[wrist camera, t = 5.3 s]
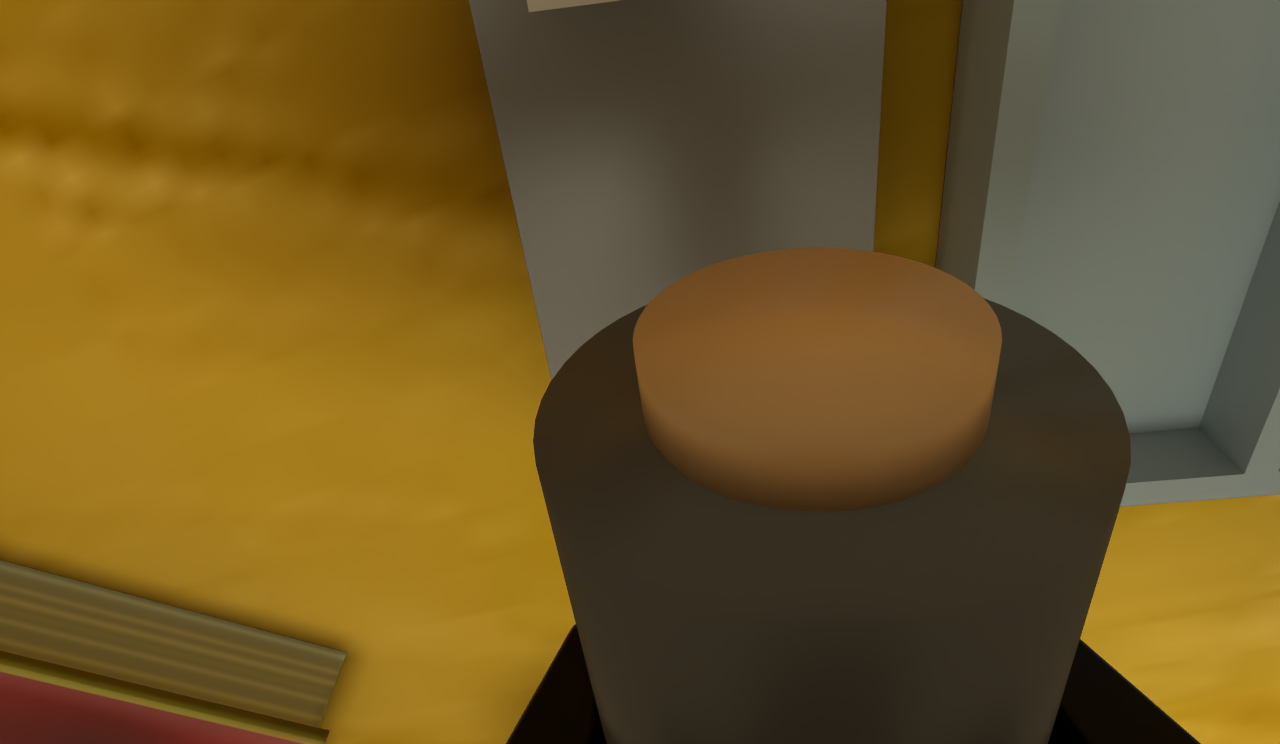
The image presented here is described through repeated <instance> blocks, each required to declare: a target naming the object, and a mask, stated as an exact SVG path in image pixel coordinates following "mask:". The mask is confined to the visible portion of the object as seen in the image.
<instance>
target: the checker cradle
mask: <svg viewBox="0 0 1280 744" xmlns="http://www.w3.org/2000/svg"><path fill="white" fill-rule="evenodd" d="M469 5H470V9H471V14H472V18H473V23H474V27H475V32H476V36H477V41H478V46H479V50H480V55H481V59H482V64H483V68H484V73H485V78H486V82H487V87H488V91H489V96H490V100H491V105H492V110H493V114H494V119H495V123H496V128H497V132H498V137H499V141H500V146H501V151H502V155H503V160H504V164H505V169H506V173H507V178H508V183H509V187H510V192H511V196H512V201H513V205H514V210H515V215H516V219H517V224H518V228H519V233H520V237H521V242H522V246H523V251H524V256H525V260H526V265H527V269H528V274H529V278H530V283H531V288H532V292H533V297H534V301H535V306H536V310H537V315H538V320H539V324H540V329H541V333H542V338H543V342H544V347H545V351H546V356H547V361H548V365H549V370H550V374H551V379H553V378H554V376H555V375H556V374H557V372H558V371H559V370H560V368H561V367H562V366H563V364H564V363H565V362H566V361H567V360H568V359H569V358H570V357H571V356H572V355H573V354H574V353H575V352H576V351H577V350H578V349H579V348H580V347H581V346H582V345H583V344H584V343H585V342H587V341H588V340H589V339H590V338H592V337H593V336H594V335H595V334H597V333H598V332H599V331H601V330H602V329H604V328H605V327H607V326H608V325H610V324H612V323H613V322H615V321H616V320H618V319H619V318H621V317H623V316H625V315H627V314H629V313H631V312H633V311H635V310H637V309H639V308H641V307H643V306H645V305H647V304H649V303H650V302H651V301H652V300H653V299H654V298H655V297H656V296H657V295H658V294H659V293H661V292H662V291H663V290H664V289H666V288H667V287H668V286H670V285H672V284H673V283H675V282H676V281H678V280H679V279H681V278H683V277H685V276H687V275H689V274H691V273H693V272H695V271H698V270H700V269H703V268H705V267H708V266H710V265H713V264H716V263H719V262H722V261H725V260H729V259H733V258H737V257H741V256H745V255H750V254H755V253H760V252H767V251H774V250H782V249H794V248H818V247H824V248H847V249H859V250H867V251H873V249H874V230H875V212H876V193H877V174H878V156H879V137H880V118H881V100H882V81H883V62H884V43H885V25H886V6H887V0H469Z"/></svg>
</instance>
